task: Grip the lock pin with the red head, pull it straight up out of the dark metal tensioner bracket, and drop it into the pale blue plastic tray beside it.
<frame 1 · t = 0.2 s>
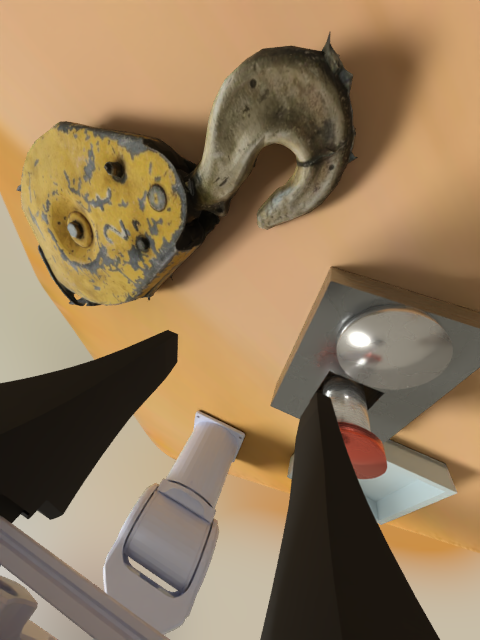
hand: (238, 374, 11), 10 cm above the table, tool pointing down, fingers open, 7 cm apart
tensioner bracket: (352, 358, 19), on the table
tray: (354, 460, 26), on the table
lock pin: (342, 372, 20), resting in tensioner bracket
pulley block: (163, 213, 19), on the table
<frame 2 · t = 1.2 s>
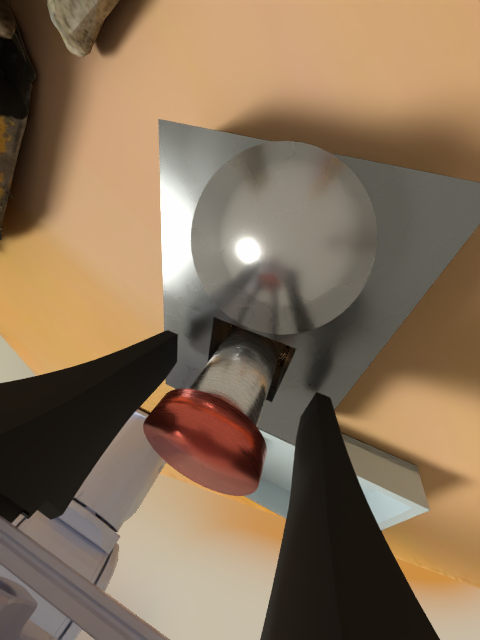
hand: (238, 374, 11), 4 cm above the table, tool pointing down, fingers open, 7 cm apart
tensioner bracket: (268, 306, 13), on the table
tray: (301, 461, 19), on the table
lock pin: (260, 332, 14), resting in tensioner bracket
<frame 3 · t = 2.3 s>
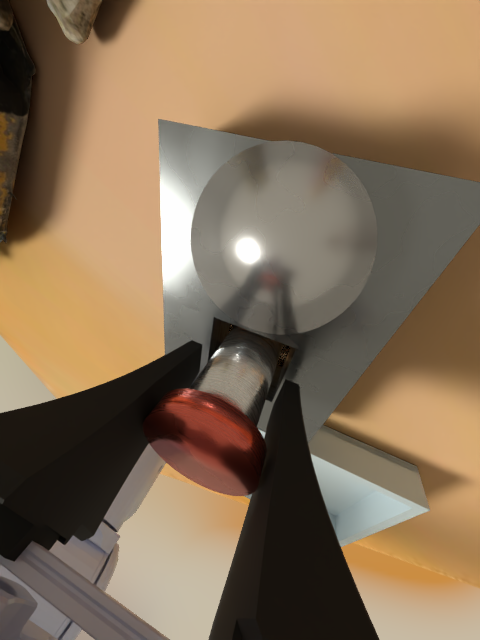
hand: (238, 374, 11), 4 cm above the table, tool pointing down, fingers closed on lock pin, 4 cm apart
tensioner bracket: (268, 306, 13), on the table
tray: (301, 461, 19), on the table
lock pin: (260, 332, 14), resting in tensioner bracket, touching gripper
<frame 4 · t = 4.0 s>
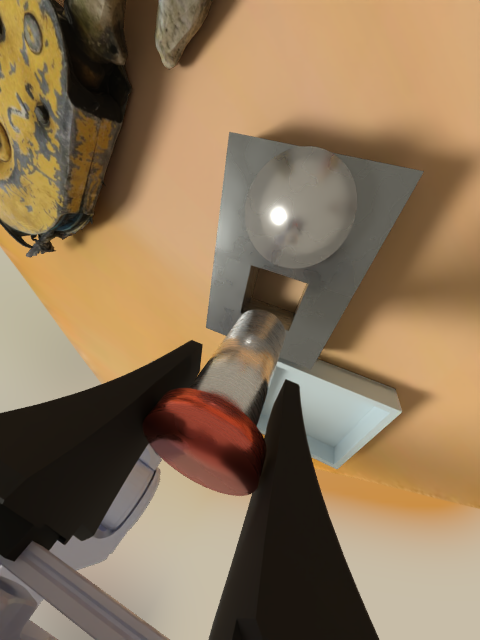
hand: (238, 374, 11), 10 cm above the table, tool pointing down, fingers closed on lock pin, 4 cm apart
tensioner bracket: (286, 263, 17), on the table
tray: (307, 399, 24), on the table
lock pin: (260, 331, 14), point 6 cm above the table, touching gripper
pulley block: (86, 114, 18), on the table
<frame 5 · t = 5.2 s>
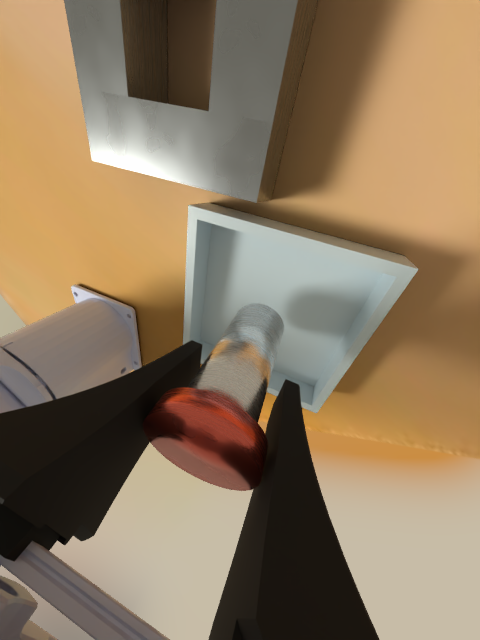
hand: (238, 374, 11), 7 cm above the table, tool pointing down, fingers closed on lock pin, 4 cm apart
tray: (271, 309, 16), on the table
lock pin: (258, 325, 14), point 3 cm above the table, touching gripper
when the fingers open (6 cm above the table, at t = 6.1 s): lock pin drops 2 cm, resting on tray.
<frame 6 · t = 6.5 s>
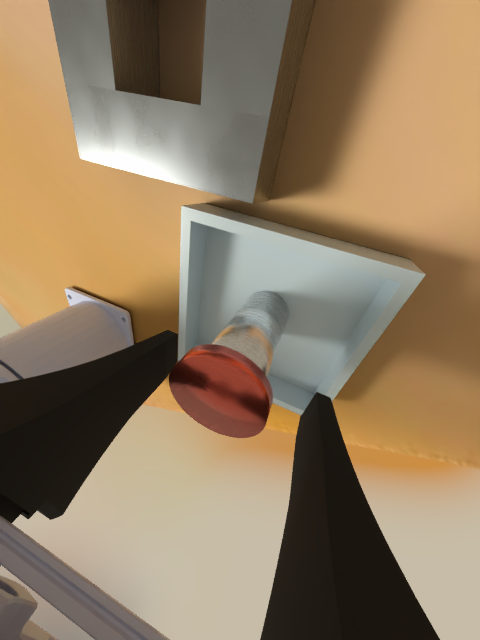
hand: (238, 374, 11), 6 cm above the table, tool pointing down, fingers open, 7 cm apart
tray: (269, 313, 16), on the table
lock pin: (266, 311, 15), point 1 cm above the table, touching tray
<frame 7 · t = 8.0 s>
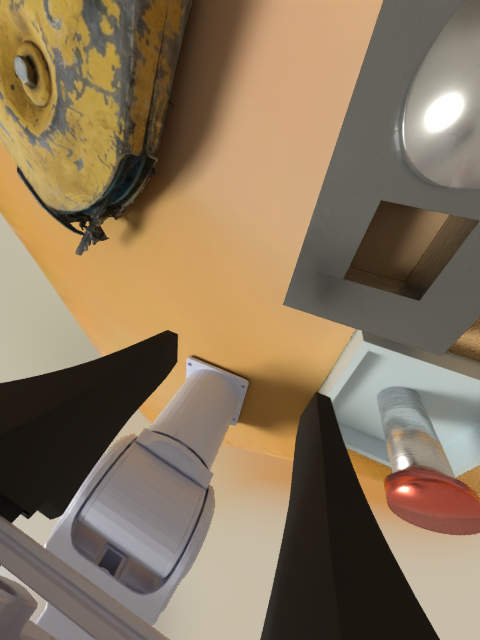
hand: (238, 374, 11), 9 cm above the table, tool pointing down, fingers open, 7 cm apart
tensioner bracket: (408, 207, 12), on the table
tray: (397, 399, 19), on the table
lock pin: (398, 400, 18), point 1 cm above the table, touching tray
pulley block: (137, 22, 13), on the table
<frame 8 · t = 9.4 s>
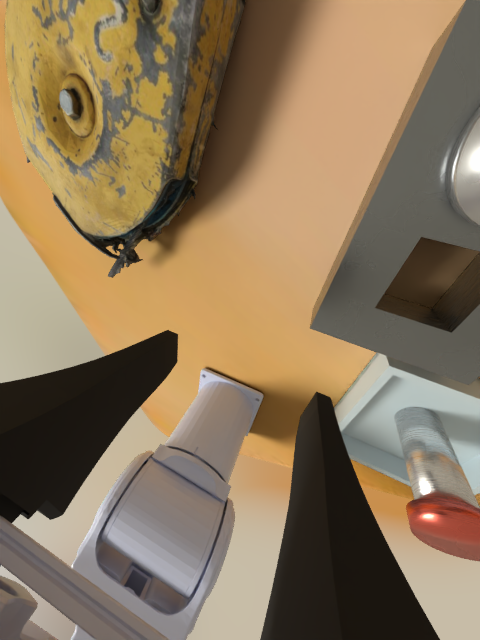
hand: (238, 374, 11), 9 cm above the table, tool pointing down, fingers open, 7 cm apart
tensioner bracket: (442, 238, 13), on the table
tray: (414, 418, 19), on the table
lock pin: (416, 419, 19), point 1 cm above the table, touching tray
pulley block: (176, 46, 13), on the table
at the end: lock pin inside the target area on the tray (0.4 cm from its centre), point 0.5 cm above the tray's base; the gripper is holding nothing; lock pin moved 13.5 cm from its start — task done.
